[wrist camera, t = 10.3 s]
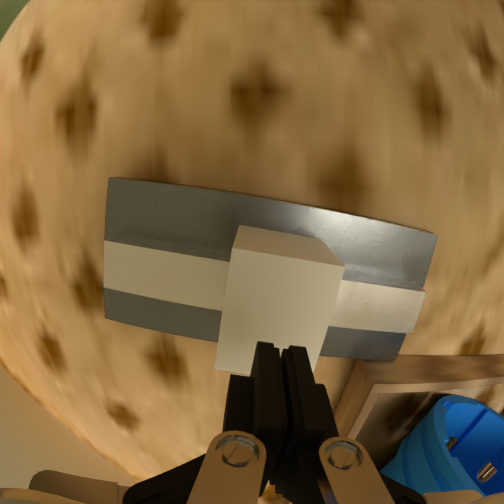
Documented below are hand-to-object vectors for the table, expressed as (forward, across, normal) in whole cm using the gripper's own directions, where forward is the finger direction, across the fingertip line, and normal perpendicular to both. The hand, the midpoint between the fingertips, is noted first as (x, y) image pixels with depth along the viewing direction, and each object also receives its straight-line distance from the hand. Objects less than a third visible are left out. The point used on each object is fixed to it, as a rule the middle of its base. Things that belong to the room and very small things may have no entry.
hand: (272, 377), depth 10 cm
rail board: (+10, 0, 0) cm, 11 cm away
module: (+9, 0, 0) cm, 9 cm away
